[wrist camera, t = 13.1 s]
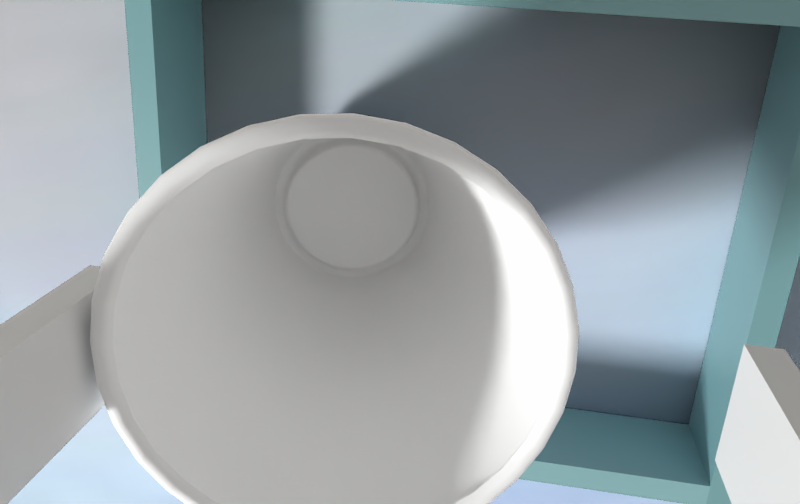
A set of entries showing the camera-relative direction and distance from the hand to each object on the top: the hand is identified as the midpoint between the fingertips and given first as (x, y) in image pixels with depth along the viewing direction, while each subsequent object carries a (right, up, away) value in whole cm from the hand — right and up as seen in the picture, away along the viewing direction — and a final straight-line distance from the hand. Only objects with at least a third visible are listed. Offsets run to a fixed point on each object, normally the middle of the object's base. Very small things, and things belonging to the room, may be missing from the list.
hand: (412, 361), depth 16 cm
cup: (-2, +4, +10) cm, 11 cm away
